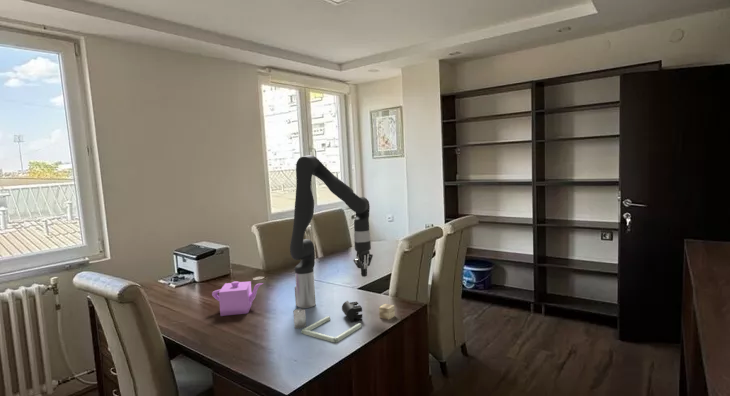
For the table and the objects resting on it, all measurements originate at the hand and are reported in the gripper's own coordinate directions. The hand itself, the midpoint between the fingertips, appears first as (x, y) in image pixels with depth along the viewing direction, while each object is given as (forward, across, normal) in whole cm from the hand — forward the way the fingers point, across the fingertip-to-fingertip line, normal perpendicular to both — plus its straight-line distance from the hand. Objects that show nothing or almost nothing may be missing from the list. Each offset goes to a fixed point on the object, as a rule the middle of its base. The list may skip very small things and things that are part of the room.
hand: (364, 276), depth 188 cm
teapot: (+17, +28, -58) cm, 67 cm away
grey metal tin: (+17, +29, -15) cm, 37 cm away
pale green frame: (+17, +25, 0) cm, 30 cm away
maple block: (+17, +2, +13) cm, 21 cm away
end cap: (+17, +11, 0) cm, 20 cm away
